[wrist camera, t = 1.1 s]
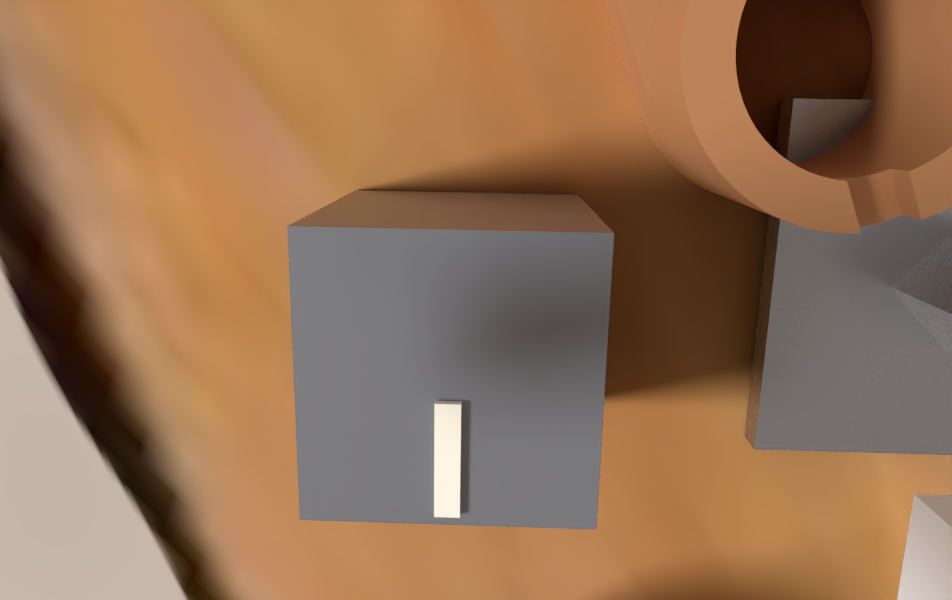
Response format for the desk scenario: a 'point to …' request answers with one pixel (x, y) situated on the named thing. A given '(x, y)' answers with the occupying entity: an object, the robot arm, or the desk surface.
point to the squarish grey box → (450, 358)
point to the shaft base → (851, 320)
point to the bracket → (750, 156)
